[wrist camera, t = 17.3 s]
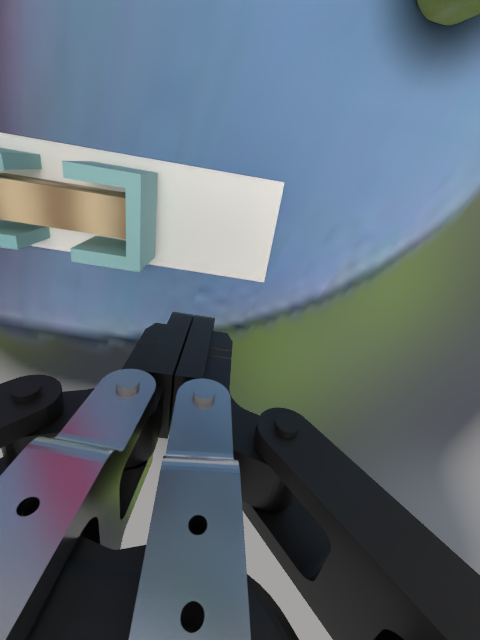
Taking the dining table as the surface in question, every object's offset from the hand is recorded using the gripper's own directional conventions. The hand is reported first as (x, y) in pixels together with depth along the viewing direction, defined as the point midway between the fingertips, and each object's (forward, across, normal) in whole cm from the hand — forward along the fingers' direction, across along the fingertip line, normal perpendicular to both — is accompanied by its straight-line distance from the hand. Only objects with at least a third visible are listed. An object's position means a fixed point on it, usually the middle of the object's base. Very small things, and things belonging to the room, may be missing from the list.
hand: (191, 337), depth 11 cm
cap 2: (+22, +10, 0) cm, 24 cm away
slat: (+22, +15, 0) cm, 26 cm away
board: (+23, +10, 0) cm, 25 cm away
